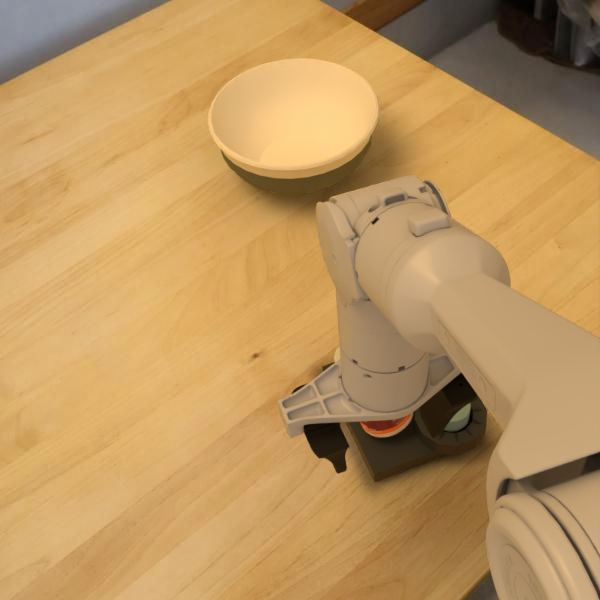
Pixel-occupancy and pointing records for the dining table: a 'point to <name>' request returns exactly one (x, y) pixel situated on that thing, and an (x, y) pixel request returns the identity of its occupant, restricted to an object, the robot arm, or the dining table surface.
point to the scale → (416, 442)
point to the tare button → (459, 419)
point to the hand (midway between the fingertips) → (384, 443)
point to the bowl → (294, 124)
